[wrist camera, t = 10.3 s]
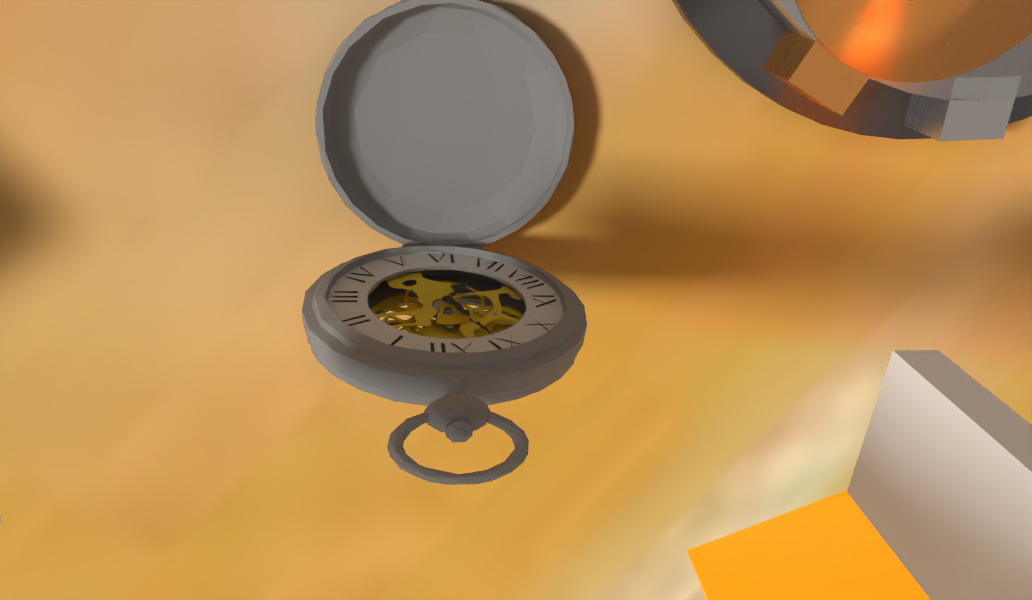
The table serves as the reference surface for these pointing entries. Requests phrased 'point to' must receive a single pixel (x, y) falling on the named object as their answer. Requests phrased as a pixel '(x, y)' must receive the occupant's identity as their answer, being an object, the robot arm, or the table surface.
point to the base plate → (745, 49)
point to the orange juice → (805, 559)
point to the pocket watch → (445, 219)
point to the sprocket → (911, 58)
